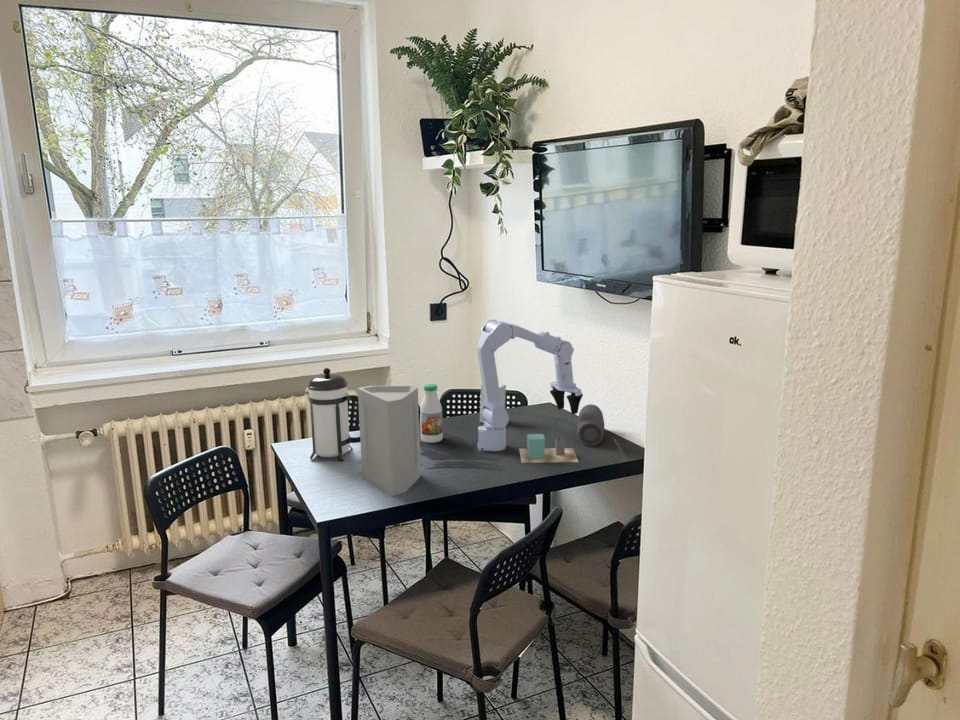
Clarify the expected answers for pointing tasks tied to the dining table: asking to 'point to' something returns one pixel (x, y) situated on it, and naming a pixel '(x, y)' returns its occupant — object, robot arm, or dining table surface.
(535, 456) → the teal foam brick
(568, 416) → the dining table surface
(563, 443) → the post
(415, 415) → the hollow triangular prism
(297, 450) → the dining table surface
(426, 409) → the milk bottle
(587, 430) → the bluetooth speaker
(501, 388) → the skincare box
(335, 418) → the coffee press
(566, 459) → the base board
